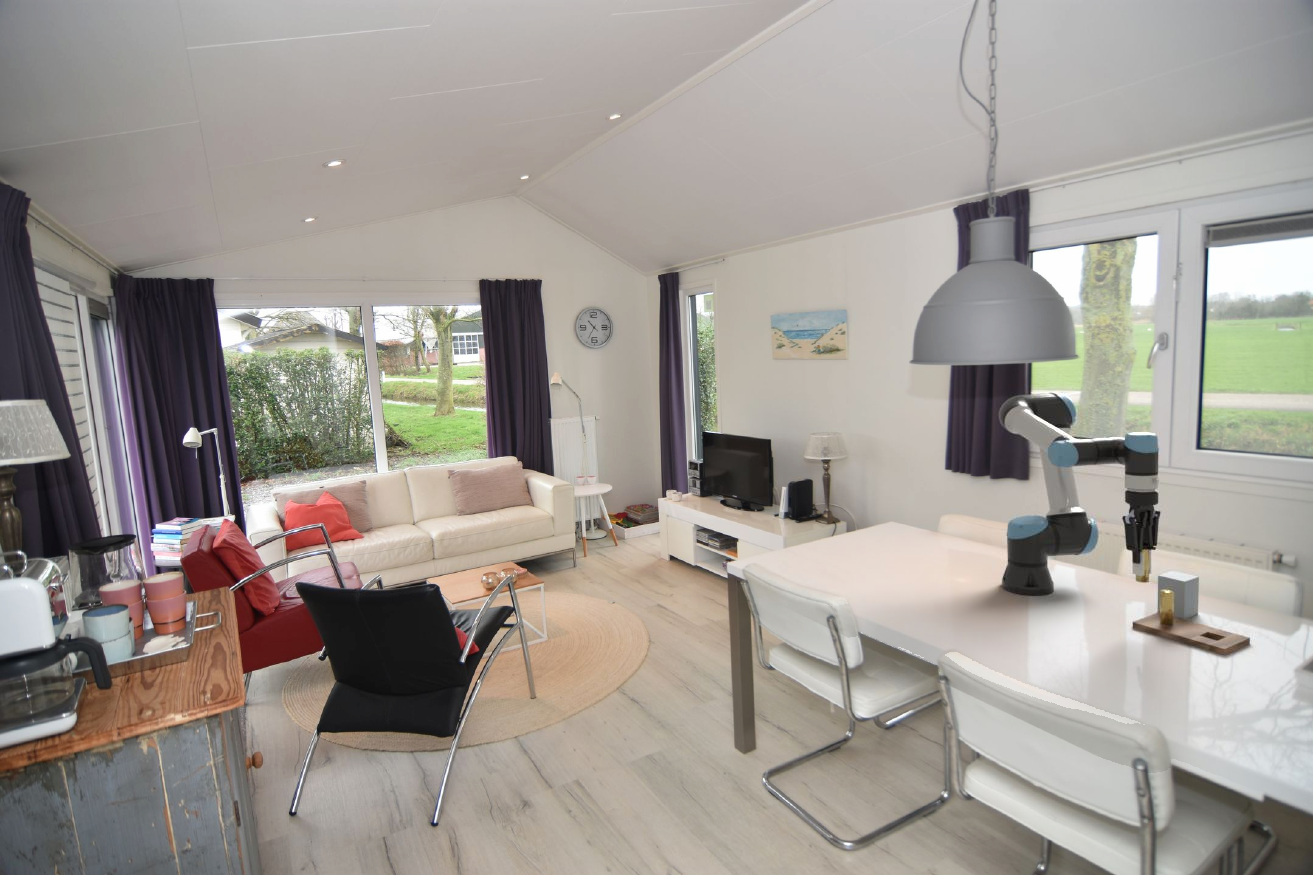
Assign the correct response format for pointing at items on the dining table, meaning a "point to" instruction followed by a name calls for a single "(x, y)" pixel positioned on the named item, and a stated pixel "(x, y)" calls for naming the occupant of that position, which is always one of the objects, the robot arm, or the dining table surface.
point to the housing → (1181, 592)
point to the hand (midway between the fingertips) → (1141, 573)
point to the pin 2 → (1166, 607)
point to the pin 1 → (1146, 567)
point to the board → (1193, 634)
